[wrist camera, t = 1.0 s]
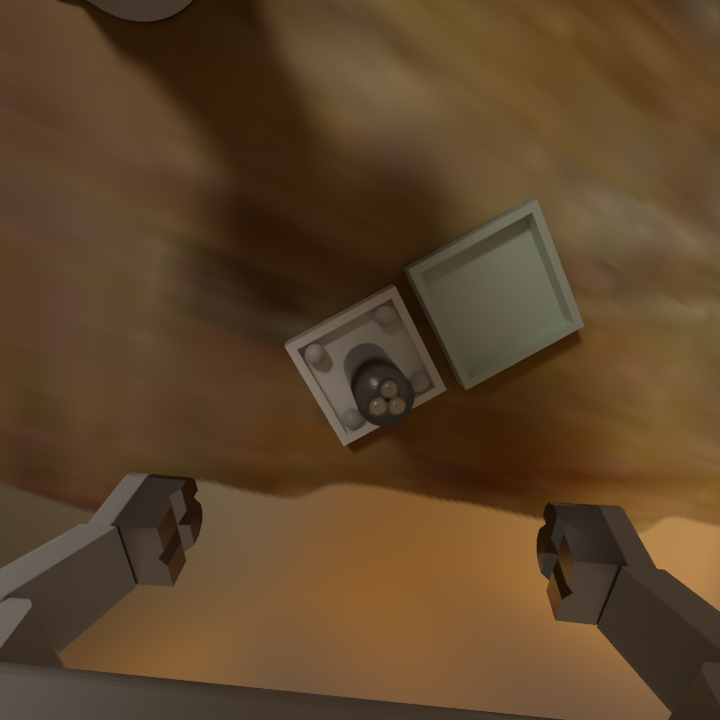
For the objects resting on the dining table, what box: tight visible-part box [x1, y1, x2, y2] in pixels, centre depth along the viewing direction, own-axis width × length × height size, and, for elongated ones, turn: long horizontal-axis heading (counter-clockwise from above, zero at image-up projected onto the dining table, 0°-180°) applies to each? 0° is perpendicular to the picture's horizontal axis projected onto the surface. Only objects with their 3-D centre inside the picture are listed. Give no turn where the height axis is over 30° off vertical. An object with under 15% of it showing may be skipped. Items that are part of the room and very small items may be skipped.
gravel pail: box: [344, 343, 414, 426], centre depth 48 cm, size 6×6×13 cm
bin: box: [403, 200, 584, 390], centre depth 54 cm, size 16×16×3 cm
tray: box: [285, 284, 446, 446], centre depth 54 cm, size 14×14×3 cm
